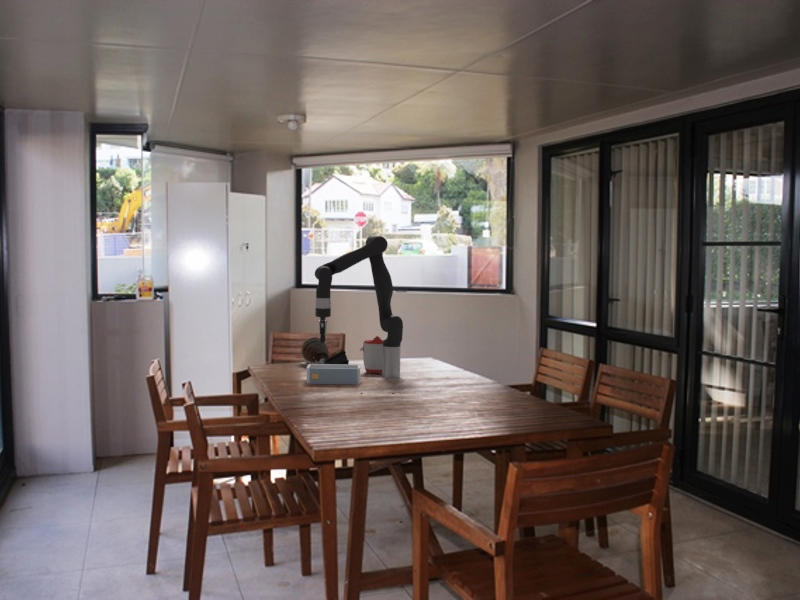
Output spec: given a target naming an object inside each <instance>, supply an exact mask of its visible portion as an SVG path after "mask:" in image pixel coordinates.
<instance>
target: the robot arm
mask: <svg viewBox="0 0 800 600" xmlns="http://www.w3.org/2000/svg"><path fill="white" fill-rule="evenodd" d="M388 244H389V243H388V240H387V239H386V238H385V237H384V236H382V235H378V234H377V235H376V234H372V235H370V236H368V237H367V238H366V240H365V245H363V246H362V247H359V248H358V249H355V250H351V251H349V252H347V253H344V254H341V255H340V256H338V257H336V258H335V259H333V260H332V261H329V262H327V263H324V264H322V265H320V266H318V267H316V269H315V272H314V276H315V278H316V279H317V280H318V285H317V287H316V289H315V307H314V308H315V309H314V310H315V317H317V318H320V320H318V327H319V328H318V330H319V335H320V342H321V343H324V342H325V343H326V334H327V328H328V327H327V325H328V320H327V319H326V318H330V317H331V316H332V312H331V311H332V310H331V309H332V308H331V307H332V305H331V304H332V302H331V287H332V283H333V276H334V275H335V274H341V273H343V272H344V271H346V270H347V269H349V268H351V267H353V266H355V265H357V264H358V263H361V262H362V261H365V260H366V259H368V261H369V262H370V267H371V268H370V269H371V273H372V281H373V285H374V291H375V294H376V295H375V296H376V303H377V306H378V316H379V325H380V329H381V330H382V331H383V332H385V333H387V336H386V338H385V339H383V340H384V341H383V362H382V374H381V375H382V378H386V379H398V378H401V345H402V341H403V334H404V333H403V332H404V323H403V319H402V318H401V317H400V316H398V315H394V314H393V313H392V312H393V311H392V306H391V305H392V304H391V303H392V302H391V301H392V297H393V292H394V285H393V281H392V277H391V274H390V271H389V269H388V267H387V265H386V264H385V260H384V257H383V253H384V252H386V250H387V249H388Z"/></svg>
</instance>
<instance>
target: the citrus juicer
mask: <svg viewBox="0 0 800 600" xmlns="http://www.w3.org/2000/svg"><path fill="white" fill-rule="evenodd" d="M384 340H385V339H381V337H380V336H378V335H376V336H375V337H373V339H366V340H363V341H364V342H363V345H362V347H361V348H360V349H359V352H361V351H362V356H363V358H362V360H363V367H364V370H365V372H366V373H368V374H370V373H372V374H380V373H382V362H383V341H384Z"/></svg>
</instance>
